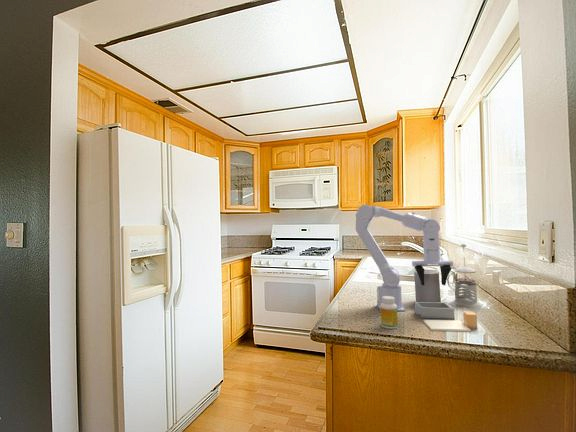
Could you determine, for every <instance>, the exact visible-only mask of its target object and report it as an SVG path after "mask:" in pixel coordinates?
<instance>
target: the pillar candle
mask: <svg viewBox="0 0 576 432" xmlns="http://www.w3.org/2000/svg"><path fill="white" fill-rule="evenodd" d="M413 273H414V276H413V277H414V292H415V294H414V295H415V302H442V300H441V299H442V298H441V297H442V296H441V287H440V286H441V284H440V283H441V282H440V271H438V270H436V269H435V270H434V269H428V268H427V267H426V268H425V269H424V285H421V282H420V278H419V275H418V273H417V271H416V269H415V270H414V272H413Z"/></svg>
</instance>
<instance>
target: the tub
mask: <svg viewBox="0 0 576 432" xmlns="http://www.w3.org/2000/svg"><path fill="white" fill-rule="evenodd" d="M414 310H415V311H414V312H415V314H416V315H417V316H418V317H419V318H420V319H421V320H456V319H455V318H456V317H455V308H454V307H453V306H451V305H449V304H448V303H447V302H446V301H445V302H442V301H441V302H416V301H415V302H414Z"/></svg>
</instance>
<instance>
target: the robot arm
mask: <svg viewBox="0 0 576 432" xmlns="http://www.w3.org/2000/svg"><path fill="white" fill-rule="evenodd" d="M381 217H384V218H387V219H391V220H394V221H398V222H401V224H402V226H403V227H405V228H409V229H412V230H416V231H418V232H420V231H422V232H423V235H422V236H423V238H422V244H423V245H422V246H423V260H412V261H411V266H412V267H414V269H415V270H416V271H417V273H418V275H419V278H420V282H421V285H424V270H425V268H424V267H439V269H440V273H441V274H440V276H441V282H440V283H441V285H442V286H446V283H447V278H448V276H449V275H450V274H451V271H452V267H454V261H452V260H441V251H440V248H441V247H440V246H441V245H440V238H439V236H440V234H439V231H440V230H441V226H440V223H439V222H438V221H437V220H435V219H431V218H428V216H421V215H418V214H416V212H407V213H404V214H403V213H399V212H397V211H394V210H390V209H388V208H384V207H381V206H376V205H375V206H374V205H371V206H370V205H369V204H362V205H360V206H359V207H358V208H357V211H356V213H355V232H356V233H357V235H358V237H359V238H360V240H361V242H362V243H363V245H364V246H365V248H366V249H367V251H368V253H369V255H370V256H371V258H372V259H373V261H374V263H375V264H376V266H377V268H378V270H379V272H380V275H382V276H381V277H382V285H380V286H376V299H377V301H376V302H377V303H376V305H377V307H378V309H379V311H381V309H380V305H381V303H383V301H382V297H383V296H392V297H394V298H395V302H394V303H395V304H396V305H397V312H398V311H399V312H405V311H406V310H405V308H404V306H403V301H402V300H403V299H402V285H401V284H400V282H401V280H400V273H399V271H398V270H397V269H396V268H394V267H393V266H392V264H391V263H390V262H389V261H388V259H387V257H386V256H385V254H384V253H383V251H382V249H381V248H380V246H379V244H378V243H377V241H376V240H375V238H374V236H373V235H372V233H371V231H370V230H369V227H370V224H371V221H372V219H373V218H381Z"/></svg>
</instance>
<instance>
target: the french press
mask: <svg viewBox="0 0 576 432" xmlns="http://www.w3.org/2000/svg"><path fill="white" fill-rule="evenodd" d="M460 246H461V247H462V248H463V251H465V247H467V245H466V244H464V243H462V244H460ZM465 260H466V259H465V258H463V266H459V267H456V268H454V269H453V271H454V272H452V273H449V275H448V277H447V280H446V283H447V286H448V287H449V288H450V289H451V290H453V291H454V300H453V301H452V302H453V303H454V304H456V305H459V306H463V307H464V306H465V307H479V306H481V303H480V302H479V301H478V293H477V292H478V291H477V283H475V282H476V280H475V279H471V278H466V277H464V278H463V277H459V278H455V281H456V282H454V287H455V288H453V287H452V286H451V284H450V282H449V279H450V277H451V275H453V277H456V273H461V274H463V273H464V274H475V273H476V272H477V270H476V269H474V268H472V267H470V266H469V267H468V266H466V263H465V262H466V261H465ZM455 272H456V273H455Z"/></svg>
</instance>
